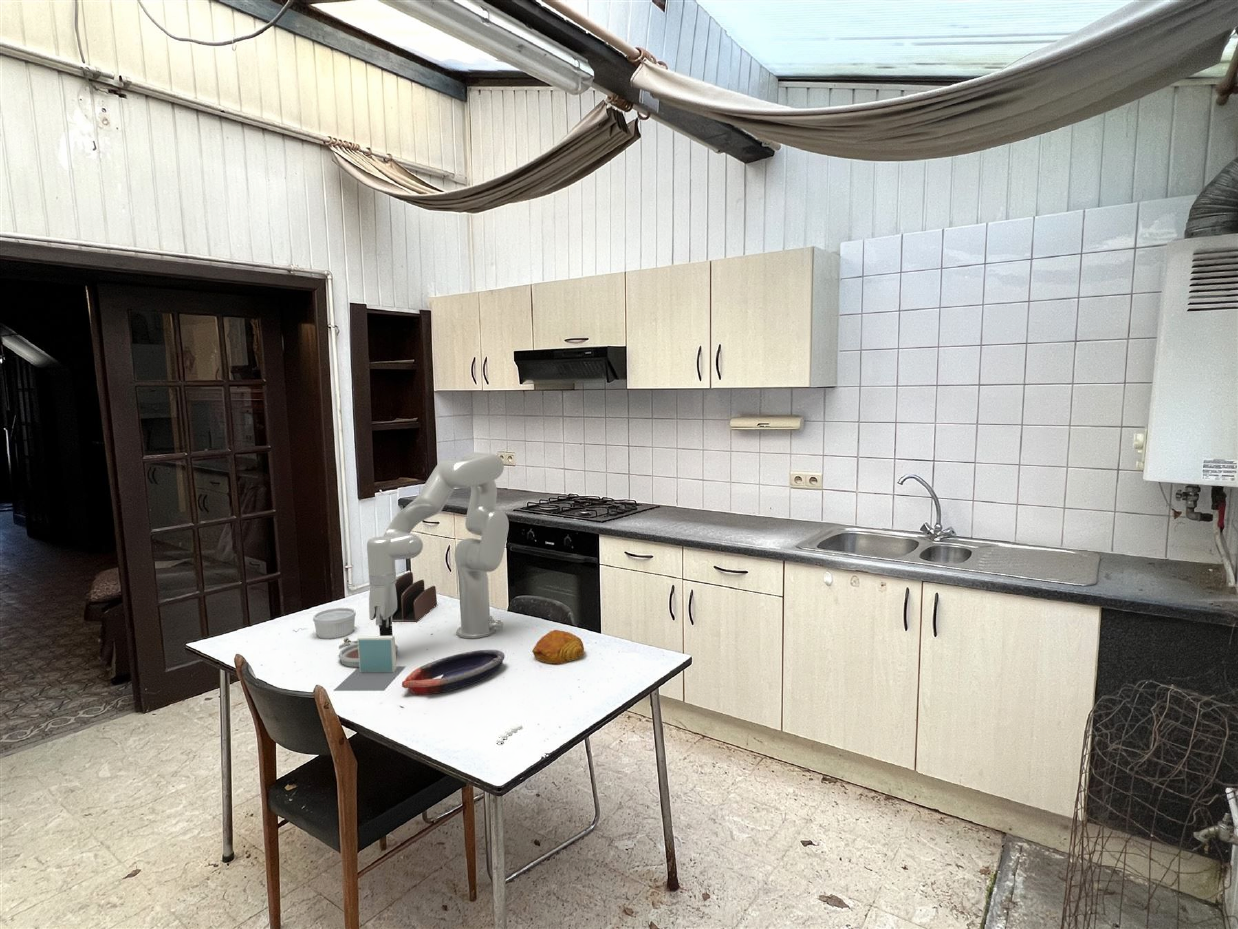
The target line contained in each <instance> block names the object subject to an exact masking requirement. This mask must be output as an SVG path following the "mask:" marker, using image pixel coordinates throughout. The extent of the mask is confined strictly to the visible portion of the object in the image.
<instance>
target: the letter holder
mask: <svg viewBox="0 0 1238 929" xmlns="http://www.w3.org/2000/svg"><path fill="white" fill-rule="evenodd" d="M395 587H396V594H397V610H396V611H395V612H394V614H393V616H392V622H416V623H417V621H418V620H419V619H420V618H421V617H422V618H423V616H424V615H425V614H426V613H427V614H428V613H430V612H431V611H432V610H433V609H434V608H435V607H436V605H437V606H438V600H437V599H438V598H437V588H436V586H435V585H432V586H430V587H428V588H426V589H425V580H424V579H420V580H417V581H415V582H414V575H413V572H411V571H409V572H407V573H404V574H402V575H401V576H399V577H398V578H396V583H395ZM434 606H435V607H434ZM432 608H433V609H432ZM431 609H432V610H431ZM430 610H431V611H430ZM427 614H426V615H427ZM426 615H425V616H426ZM425 616H424V617H425ZM422 618H421V619H422ZM421 619H420V620H421ZM420 620H419V621H420ZM419 621H418V622H419Z"/></svg>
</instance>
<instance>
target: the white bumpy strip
mask: <svg viewBox="0 0 1238 929" xmlns="http://www.w3.org/2000/svg"><path fill="white" fill-rule="evenodd" d="M519 729H520V730H522V729H523V724H517V725H514V726H511V727H509V728H507V729H506V730H505V731H503V732H502V733H501V734H499V736H500V738H499V736H498V738H497V739H498V740H497V739H496V741H495V743H496V742H497V743H503V742H505V740H506V739H505V738H507V739H508V737H510V736H512V734H513V732H514V733H517V731H518V730H519ZM507 735H508V736H507ZM509 735H510V736H509ZM503 739H505V740H503ZM503 744H504V743H503Z"/></svg>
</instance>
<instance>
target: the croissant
mask: <svg viewBox="0 0 1238 929" xmlns="http://www.w3.org/2000/svg"><path fill="white" fill-rule="evenodd" d="M583 642H584V641H582V639H581V638H580V637H578V635H575V634H573V633H571V632H570V631H564V630H559V629H554V630H550V631H549V632H548V633H546V634H545V635H543V636H542V637H540V639H538V641H537V642H536V644H535V646H534V647H533V649H532V650H531V652H532V653H533V656H534V657H535V659H536V660H538V661H540V662H543V663H545V662H546V663H547V664H557V665H562V664H565V663H566V662H569V661H570V662H573V661H574V660H578V659H580V658H581V657H582V656H583V655H584V652H585V648H584V643H583ZM546 663H545V664H546Z"/></svg>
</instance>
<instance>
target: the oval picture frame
mask: <svg viewBox="0 0 1238 929" xmlns="http://www.w3.org/2000/svg"><path fill="white" fill-rule="evenodd" d="M343 642H344V643H342V644H340V645H338V648H339V649H341V648H342V649H341V650H340V651H339V653H338V655H337V656H338V658H339V660H340V661H341V663H342V665H344V666H347V667H351V668H358V667H359V653H358V639H356V640H353V641H351V640H350V638H349V637H348V636H344V637H343ZM398 649H399V648H398V645H397V644H396V643H395V652H396V653H397V651H398Z"/></svg>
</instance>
